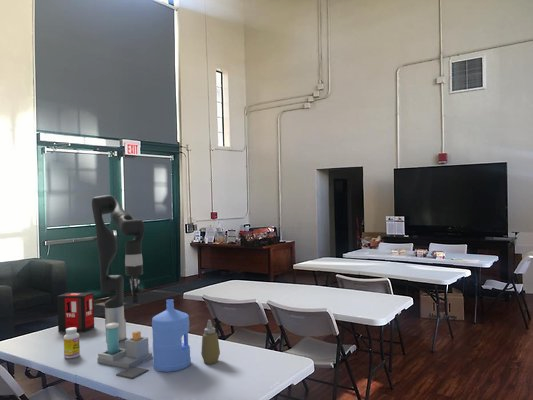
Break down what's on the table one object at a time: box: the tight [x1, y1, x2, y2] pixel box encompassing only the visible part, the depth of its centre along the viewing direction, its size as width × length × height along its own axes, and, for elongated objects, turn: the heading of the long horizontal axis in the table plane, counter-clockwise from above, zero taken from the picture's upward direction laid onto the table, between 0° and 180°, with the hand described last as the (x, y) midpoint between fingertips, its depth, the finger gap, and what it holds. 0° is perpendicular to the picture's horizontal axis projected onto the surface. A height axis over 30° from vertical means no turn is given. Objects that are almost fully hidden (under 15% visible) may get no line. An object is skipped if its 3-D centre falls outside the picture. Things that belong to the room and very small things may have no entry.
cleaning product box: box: [56, 292, 95, 333], centre depth 246 cm, size 16×9×20 cm, turn 81°
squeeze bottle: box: [200, 319, 221, 365], centre depth 188 cm, size 8×8×18 cm
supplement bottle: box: [63, 327, 81, 359], centre depth 202 cm, size 7×7×13 cm
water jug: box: [151, 298, 192, 373], centre depth 185 cm, size 16×16×28 cm
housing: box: [96, 336, 153, 369], centre depth 194 cm, size 14×19×9 cm
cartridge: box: [105, 323, 120, 355], centre depth 194 cm, size 5×5×14 cm
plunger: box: [131, 330, 142, 341], centre depth 195 cm, size 4×4×5 cm
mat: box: [115, 366, 149, 380], centre depth 179 cm, size 9×9×1 cm
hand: (135, 302), depth 195 cm, fingers closed
